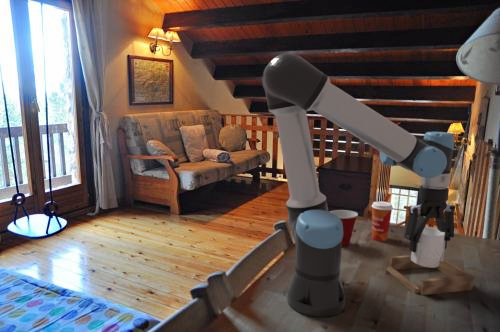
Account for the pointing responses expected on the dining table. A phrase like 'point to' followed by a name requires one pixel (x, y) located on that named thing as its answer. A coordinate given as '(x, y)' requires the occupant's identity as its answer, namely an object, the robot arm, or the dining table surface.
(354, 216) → the plastic cup
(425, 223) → the robot arm
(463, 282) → the bay
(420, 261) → the white cup
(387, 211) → the paper cup
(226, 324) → the dining table surface
